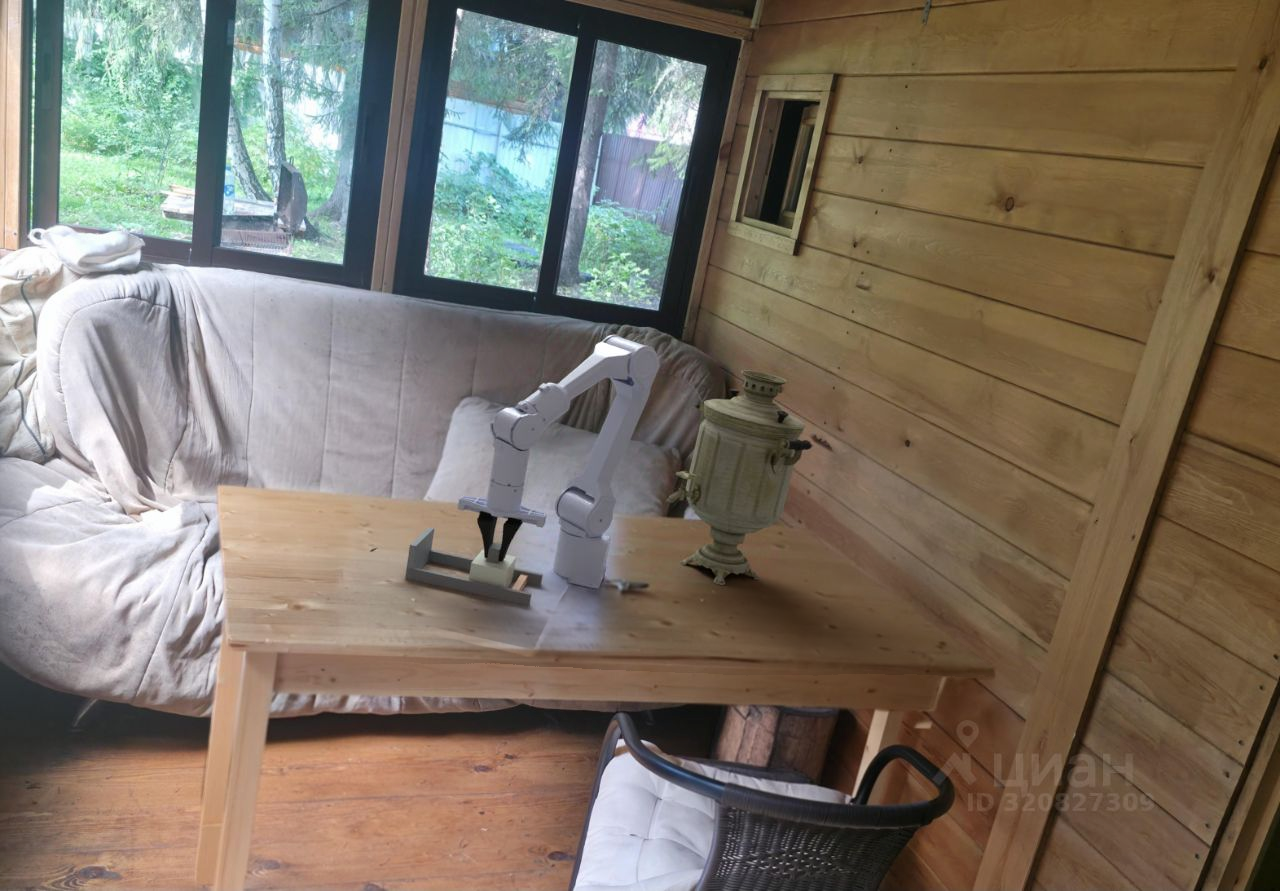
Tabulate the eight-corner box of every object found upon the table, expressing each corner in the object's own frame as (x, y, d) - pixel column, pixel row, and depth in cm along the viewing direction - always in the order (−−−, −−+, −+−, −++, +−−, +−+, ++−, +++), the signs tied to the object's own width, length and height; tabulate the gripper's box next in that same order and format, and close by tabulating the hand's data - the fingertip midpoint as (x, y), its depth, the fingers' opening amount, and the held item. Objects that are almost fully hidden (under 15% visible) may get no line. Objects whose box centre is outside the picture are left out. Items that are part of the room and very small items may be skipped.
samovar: (621, 537, 209) (658, 349, 199) (735, 545, 218) (775, 365, 209) (670, 597, 182) (715, 383, 172) (797, 603, 191) (847, 400, 181)
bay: (541, 586, 175) (547, 550, 174) (526, 612, 164) (533, 574, 162) (425, 561, 177) (430, 524, 175) (402, 585, 165) (407, 546, 163)
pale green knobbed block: (512, 581, 173) (518, 543, 171) (502, 595, 166) (509, 556, 165) (478, 573, 173) (484, 535, 172) (467, 588, 167) (473, 548, 165)
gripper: (457, 477, 162) (445, 556, 165) (545, 496, 161) (531, 575, 164) (469, 467, 169) (458, 542, 172) (553, 485, 168) (540, 560, 171)
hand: (494, 557), depth 169 cm, fingers closed on pale green knobbed block, 2 cm apart
